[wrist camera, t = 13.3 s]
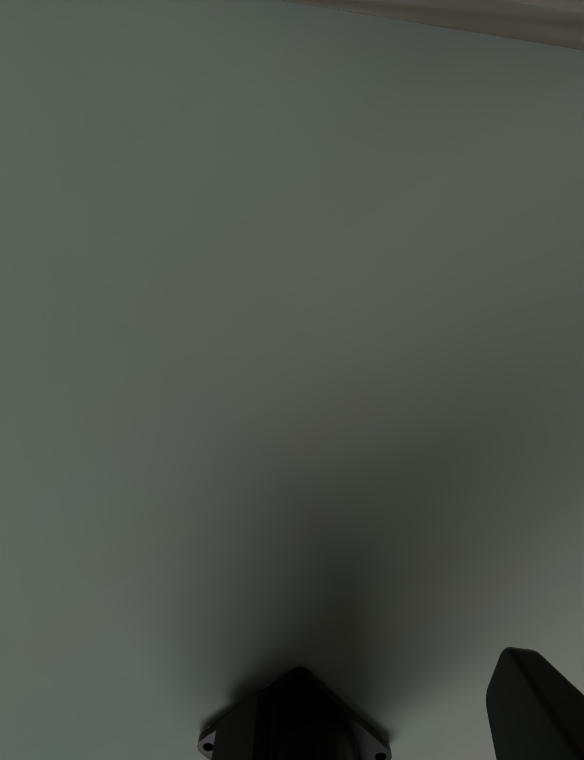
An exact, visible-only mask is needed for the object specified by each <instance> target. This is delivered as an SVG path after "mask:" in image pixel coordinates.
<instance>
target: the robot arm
mask: <svg viewBox="0 0 584 760" xmlns="http://www.w3.org/2000/svg"><path fill="white" fill-rule="evenodd" d="M297 680H303V681H297ZM486 707H487V713H488V718H489V723H490V728H491V733H492V738H493V743H494V749H495V754H496V759H497V760H584V695H583V694H582V693H581V692H580V691H579V690H578V689H577V688H576V687H575V686H574V685H572V684H571V683H570V682H569V681H568V680H567V679H566V678H565V677H564V676H563V675H562V674H561V673H560V672H559V671H558V670H557V669H556V668H554V667H553V666H552V665H551V664H550V663H549V662H548V661H547V660H546V659H545V658H544V657H543V656H542V655H540V654H539V653H538V652H536V651H534V650H530V649H522V648H514V647H508V648H505V649H504V650H503V651H502V653H501V655H500V657H499V660H498V662H497V665H496V667H495V670H494V673H493V675H492V678H491V680H490V683H489V686H488V689H487V694H486ZM197 747H198V750H199V751H200V752H201V753H202V754H203V755H204V756H205V757H207V758H208V759H209V760H391V758H392V755H391V749H390V745H389V744H388V743H387V742H386V741H385V740H384V739H383V738H382V737H381V736H380V735H379V734H378V733H376V732H375V731H374V730H373V729H372V728H371V727H370V726H369V725H368V724H367V723H365V722H364V721H363V720H362V719H361V718H360V717H359V716H358V715H357V714H356V713H355V712H353V711H352V710H351V709H350V708H349V707H348V706H347V705H346V704H345V703H344V702H342V701H341V700H340V699H339V698H338V697H337V696H336V695H335V694H334V693H333V692H332V691H330V690H329V689H328V688H327V687H326V686H325V685H324V684H323V683H322V682H321V681H319V680H318V679H317V678H316V677H315V676H314V675H313V674H312V673H311V672H310V671H308V670H307V669H305V668H295V669H293V670H291V671H290V672H288V673H287V674H286V675H284V676H283V677H281V678H280V679H278V680H277V681H275V682H274V683H273V684H271V685H270V686H268V687H267V688H265V689H264V690H263V691H261V692H260V693H258V694H256V695H255V696H253V697H252V698H250V699H249V700H248V701H246V702H245V703H243V704H242V705H240V706H239V707H238V708H236V709H235V710H233V711H232V712H230V713H229V714H227V715H226V716H225V717H223V718H222V719H220V720H219V721H218V722H217V723H215V724H214V725H212V726H211V727H209V728H208V729H206V730H205V731H204V732H202V733H201V734H200V736H199V741H198V746H197Z"/></svg>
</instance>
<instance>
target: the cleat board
mask: <svg viewBox="0 0 584 760" xmlns="http://www.w3.org/2000/svg"><path fill="white" fill-rule="evenodd" d="M284 1H291V2H297V3H303V4H309V5H315V6H321V7H327V8H333V9H339V10H345V11H351V12H357V13H363V14H369V15H375V16H381V17H387V18H393V19H399V20H405V21H412V22H418V23H424V24H430V25H436V26H442V27H448V28H454V29H460V30H466V31H472V32H478V33H484V34H490V35H496V36H502V37H508V38H514V39H520V40H526V41H533V42H539V43H545V44H551V45H557V46H563V47H569V48H575V49H581V50H584V0H284Z"/></svg>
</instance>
